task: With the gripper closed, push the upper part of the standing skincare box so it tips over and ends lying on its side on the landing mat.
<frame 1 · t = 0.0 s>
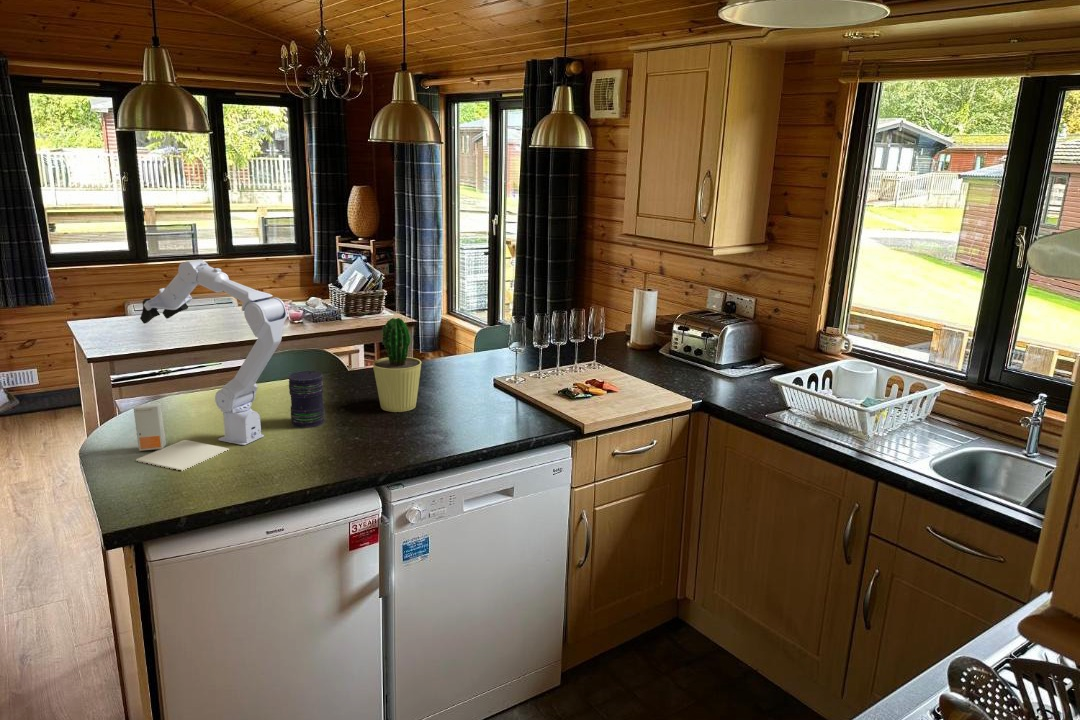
hand: (154, 318, 214), 32 cm above the worktop, tool tilted 50°, fingers open, 7 cm apart
skincare box: (153, 448, 204), on the worktop, touching landing mat
landing mat: (183, 455, 200), on the worktop
potted cactus: (398, 406, 243), on the worktop
storage jar: (308, 423, 227), on the worktop
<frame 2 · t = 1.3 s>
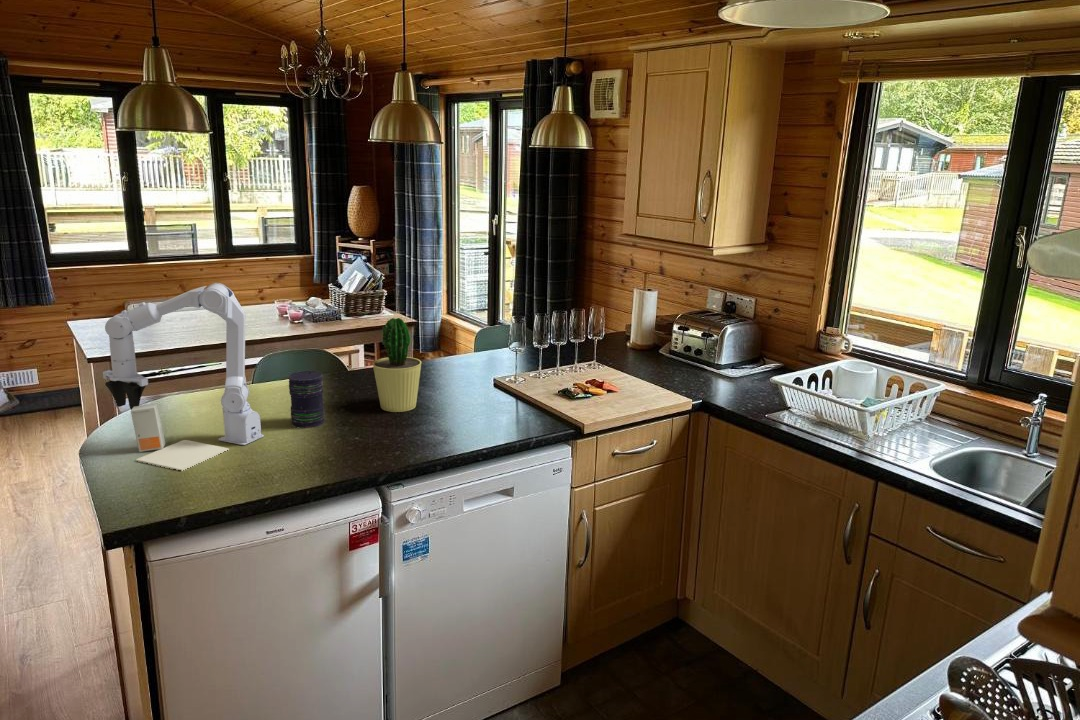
hand: (128, 407, 204), 11 cm above the worktop, tool pointing down, fingers open, 5 cm apart
skincare box: (153, 448, 204), on the worktop, touching gripper, landing mat
everything else where it was.
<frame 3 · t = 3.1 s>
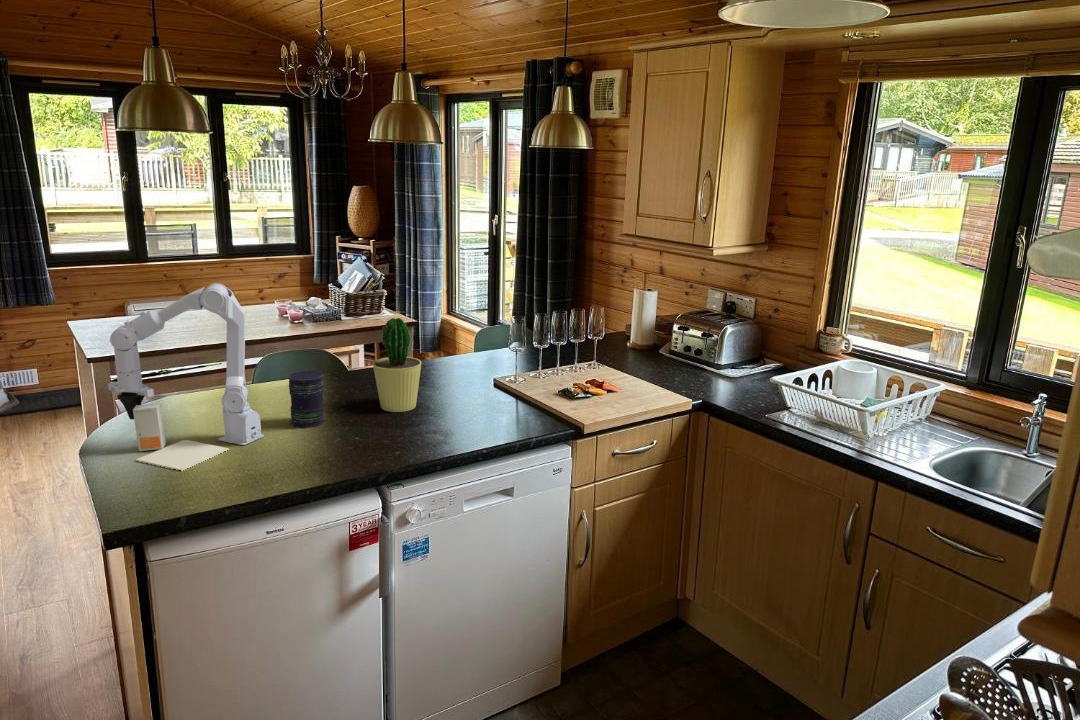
hand: (134, 418, 204), 8 cm above the worktop, tool pointing down, fingers closed
skincare box: (153, 448, 204), on the worktop, touching gripper, landing mat
everything else where it was.
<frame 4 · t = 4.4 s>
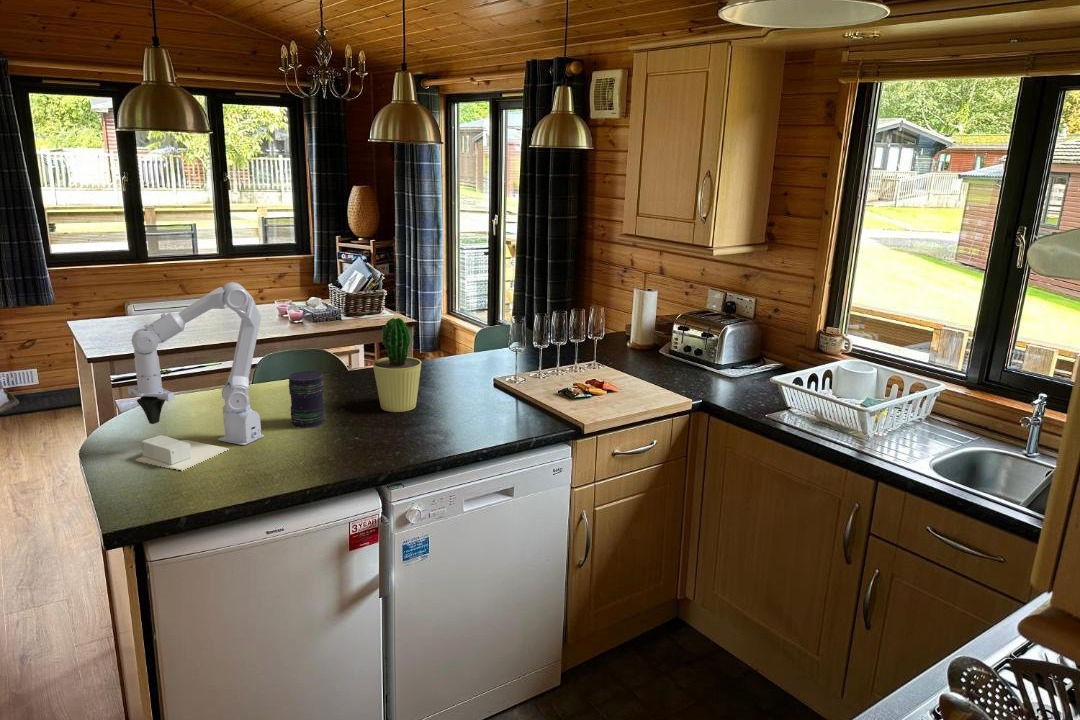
hand: (154, 422, 201), 8 cm above the worktop, tool pointing down, fingers closed
skincare box: (151, 444, 200), point 3 cm above the worktop, touching landing mat
everything else where it was.
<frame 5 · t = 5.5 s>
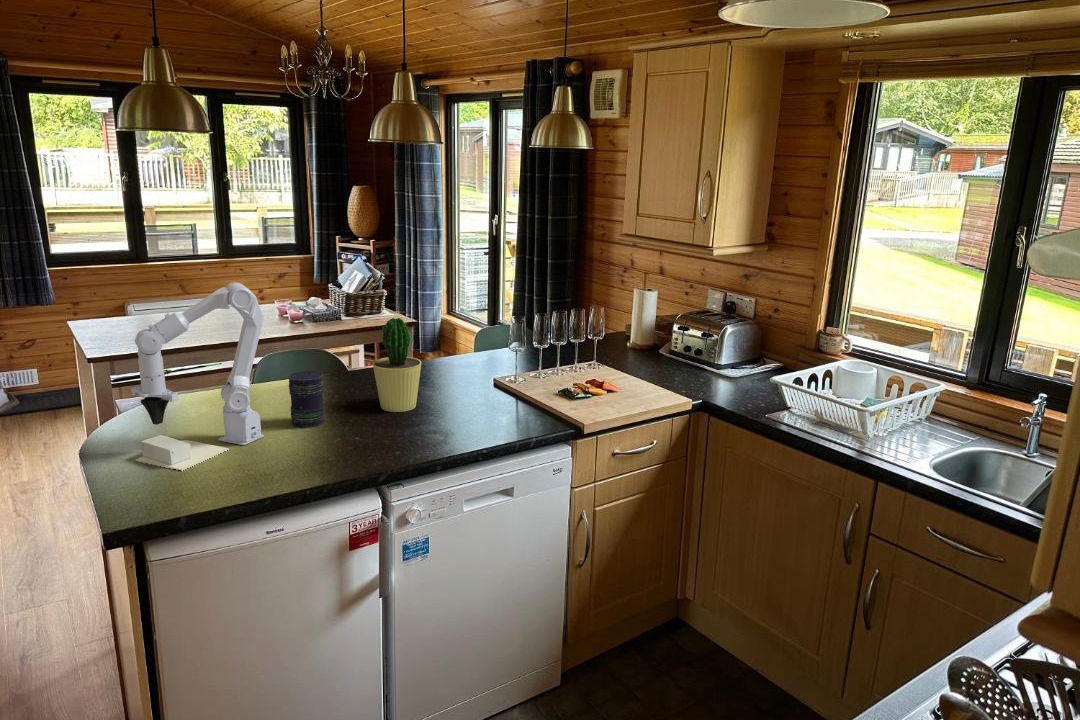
hand: (157, 423, 201), 8 cm above the worktop, tool pointing down, fingers closed
nothing on the worktop moved.
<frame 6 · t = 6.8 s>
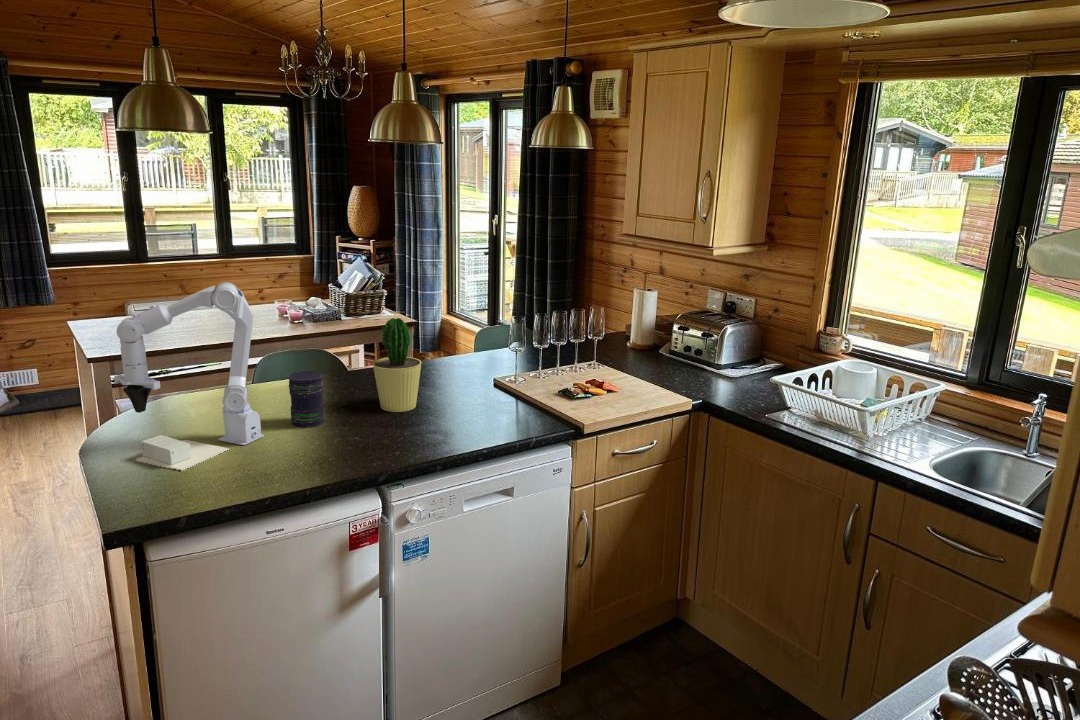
hand: (140, 411, 202), 10 cm above the worktop, tool pointing down, fingers closed
nothing on the worktop moved.
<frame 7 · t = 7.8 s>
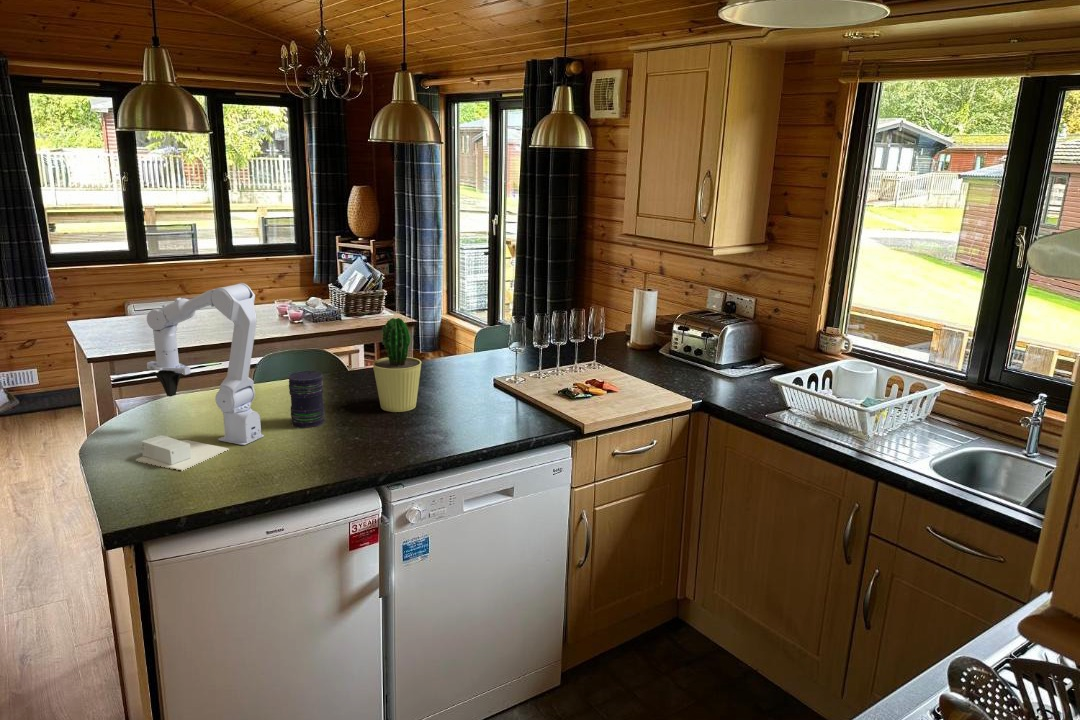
hand: (171, 395, 216), 10 cm above the worktop, tool pointing down, fingers closed
nothing on the worktop moved.
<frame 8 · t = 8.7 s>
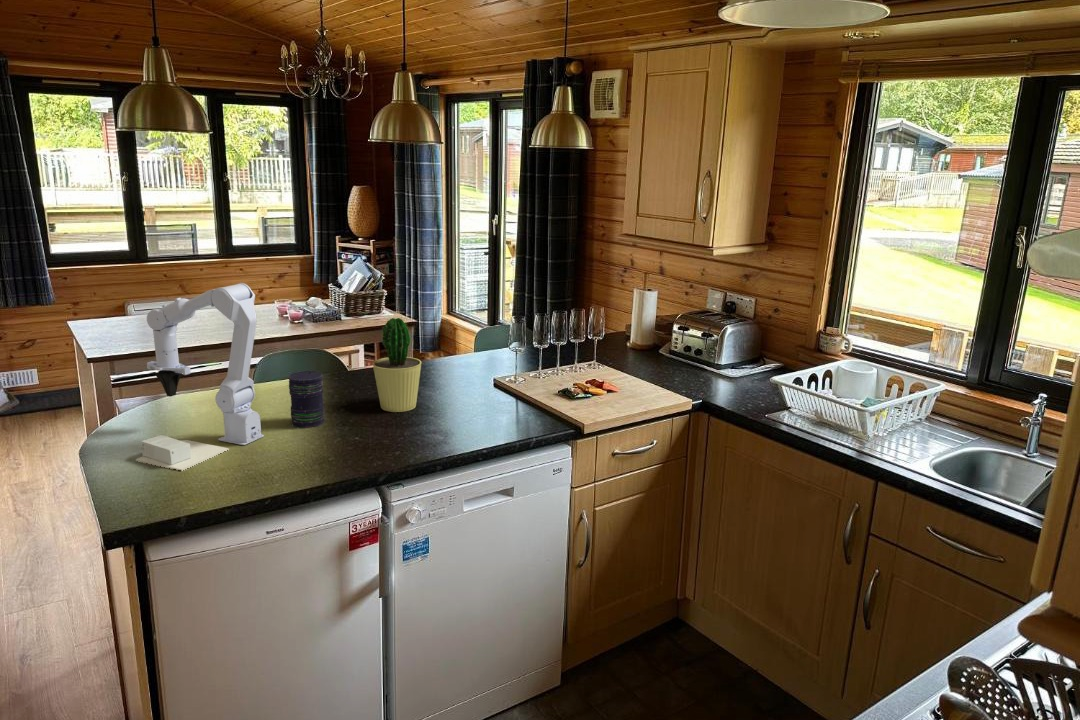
hand: (171, 395, 216), 10 cm above the worktop, tool pointing down, fingers closed
nothing on the worktop moved.
at the end: skincare box tilted 90°; skincare box touching landing mat; the gripper is holding nothing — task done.
